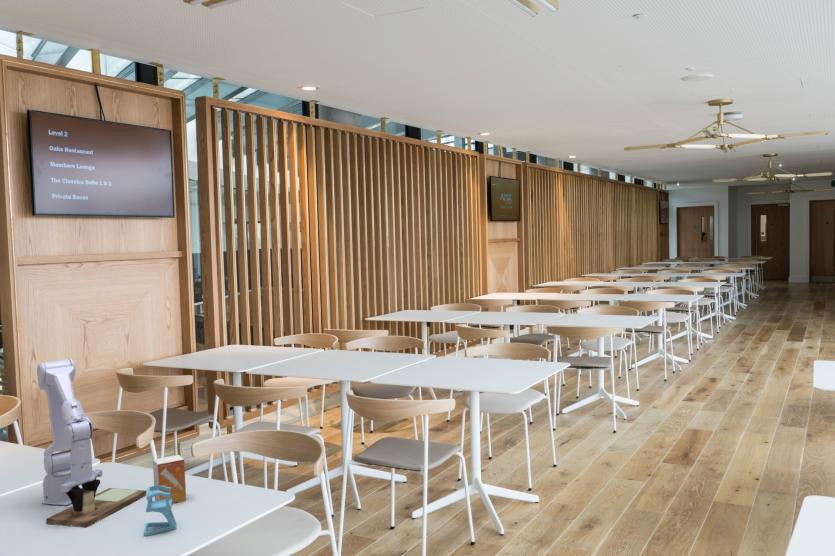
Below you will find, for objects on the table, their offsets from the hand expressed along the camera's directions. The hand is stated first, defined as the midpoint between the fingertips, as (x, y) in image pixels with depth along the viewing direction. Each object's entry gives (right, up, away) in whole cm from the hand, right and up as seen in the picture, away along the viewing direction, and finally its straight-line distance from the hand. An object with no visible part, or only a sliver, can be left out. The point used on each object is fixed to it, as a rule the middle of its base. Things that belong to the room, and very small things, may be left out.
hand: (84, 508), depth 210 cm
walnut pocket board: (+2, -2, +6) cm, 6 cm away
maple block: (0, -2, 0) cm, 2 cm away
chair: (+27, -2, -12) cm, 29 cm away
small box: (+22, -1, +10) cm, 24 cm away
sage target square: (+4, 0, +13) cm, 13 cm away
